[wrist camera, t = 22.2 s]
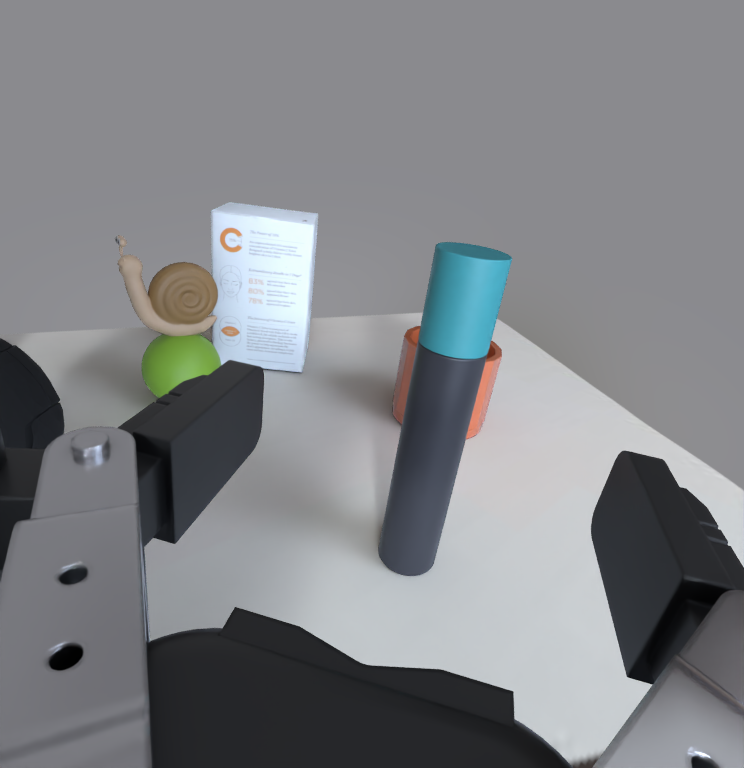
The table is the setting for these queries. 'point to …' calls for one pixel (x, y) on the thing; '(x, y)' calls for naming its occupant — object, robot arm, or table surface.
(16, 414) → the webcam
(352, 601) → the table surface
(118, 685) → the robot arm
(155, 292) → the snail figurine
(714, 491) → the table surface
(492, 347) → the pen cup
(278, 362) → the small box
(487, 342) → the marker pen
